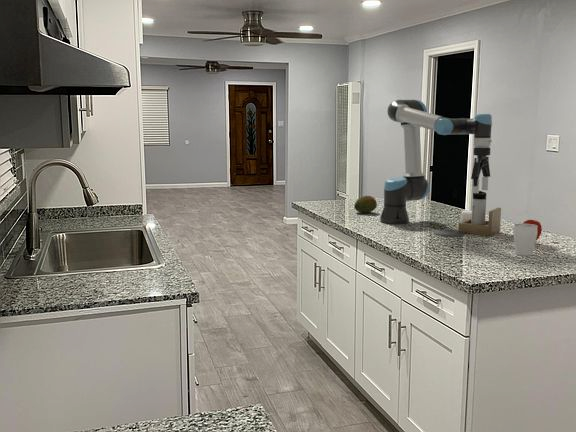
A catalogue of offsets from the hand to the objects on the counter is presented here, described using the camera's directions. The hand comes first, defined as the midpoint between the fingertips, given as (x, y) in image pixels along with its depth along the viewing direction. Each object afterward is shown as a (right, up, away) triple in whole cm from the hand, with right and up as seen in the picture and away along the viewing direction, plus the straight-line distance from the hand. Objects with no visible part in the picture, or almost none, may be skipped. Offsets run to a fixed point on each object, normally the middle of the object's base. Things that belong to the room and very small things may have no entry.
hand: (480, 191), depth 277 cm
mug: (+3, -17, +22) cm, 28 cm away
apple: (+15, -24, -21) cm, 35 cm away
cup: (+4, -28, -41) cm, 49 cm away
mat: (-15, -20, +1) cm, 25 cm away
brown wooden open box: (0, -20, +4) cm, 20 cm away
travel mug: (0, -20, +4) cm, 20 cm away
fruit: (-47, -10, +63) cm, 79 cm away
